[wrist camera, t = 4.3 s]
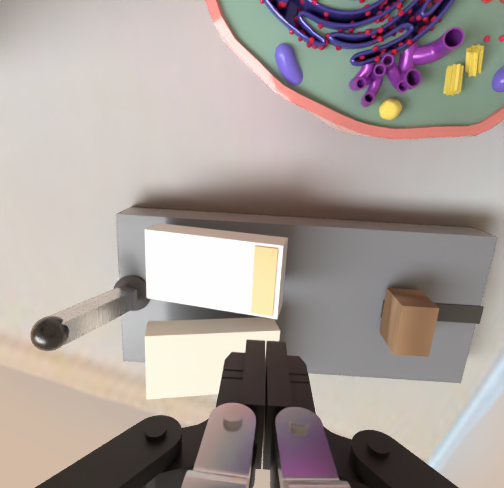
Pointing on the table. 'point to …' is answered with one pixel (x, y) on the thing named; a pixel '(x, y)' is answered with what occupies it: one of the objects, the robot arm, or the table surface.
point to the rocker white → (216, 269)
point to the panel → (334, 288)
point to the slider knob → (408, 322)
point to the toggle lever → (82, 318)
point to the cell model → (376, 61)
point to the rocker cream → (197, 352)
